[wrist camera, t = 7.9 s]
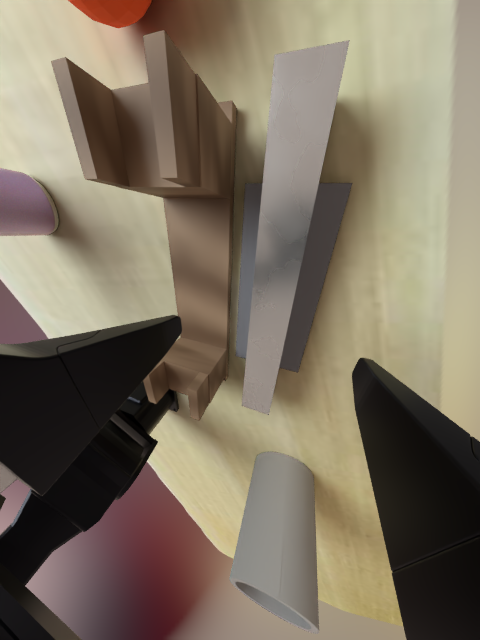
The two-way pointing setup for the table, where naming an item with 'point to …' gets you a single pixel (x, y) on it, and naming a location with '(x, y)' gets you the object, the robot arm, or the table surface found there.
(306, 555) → the cup
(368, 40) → the table surface
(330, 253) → the mat
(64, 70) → the rack
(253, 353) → the rail
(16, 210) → the beverage can
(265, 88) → the table surface
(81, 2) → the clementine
